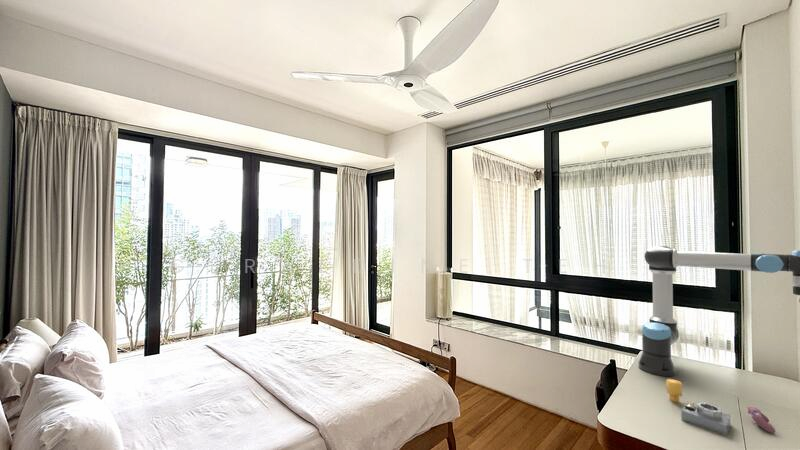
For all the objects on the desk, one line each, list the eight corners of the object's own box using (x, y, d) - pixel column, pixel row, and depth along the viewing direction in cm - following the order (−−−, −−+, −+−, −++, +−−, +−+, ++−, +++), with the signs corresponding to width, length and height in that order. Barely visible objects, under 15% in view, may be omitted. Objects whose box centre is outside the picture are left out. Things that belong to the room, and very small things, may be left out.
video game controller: (754, 422, 122) (742, 403, 124) (770, 421, 120) (757, 401, 122) (760, 435, 115) (747, 414, 117) (777, 434, 112) (764, 412, 114)
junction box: (681, 419, 120) (681, 403, 121) (687, 410, 127) (687, 395, 128) (726, 435, 111) (726, 418, 111) (730, 424, 118) (730, 408, 118)
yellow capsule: (665, 400, 135) (665, 381, 135) (668, 396, 138) (668, 377, 138) (680, 405, 131) (680, 385, 131) (683, 401, 134) (683, 382, 135)
